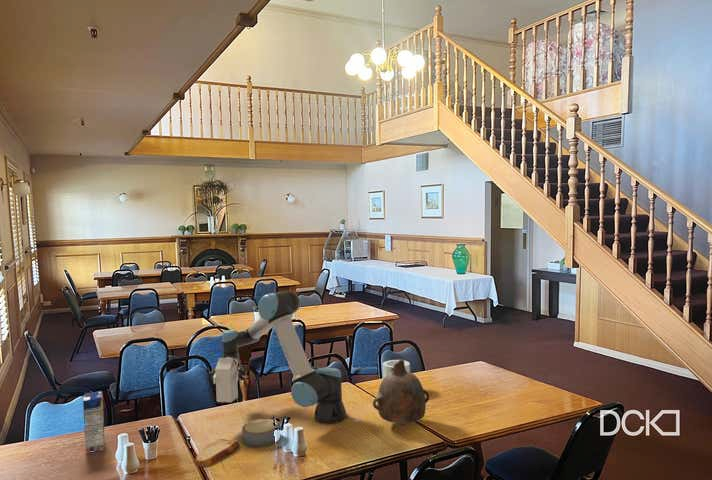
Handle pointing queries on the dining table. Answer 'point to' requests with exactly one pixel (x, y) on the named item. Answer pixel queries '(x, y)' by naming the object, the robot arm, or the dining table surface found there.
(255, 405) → the dining table surface
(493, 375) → the dining table surface
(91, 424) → the beverage box
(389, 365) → the container
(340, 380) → the robot arm
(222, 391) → the milk carton
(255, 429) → the podium
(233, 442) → the slice of bread
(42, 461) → the dining table surface
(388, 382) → the jug
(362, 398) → the dining table surface
